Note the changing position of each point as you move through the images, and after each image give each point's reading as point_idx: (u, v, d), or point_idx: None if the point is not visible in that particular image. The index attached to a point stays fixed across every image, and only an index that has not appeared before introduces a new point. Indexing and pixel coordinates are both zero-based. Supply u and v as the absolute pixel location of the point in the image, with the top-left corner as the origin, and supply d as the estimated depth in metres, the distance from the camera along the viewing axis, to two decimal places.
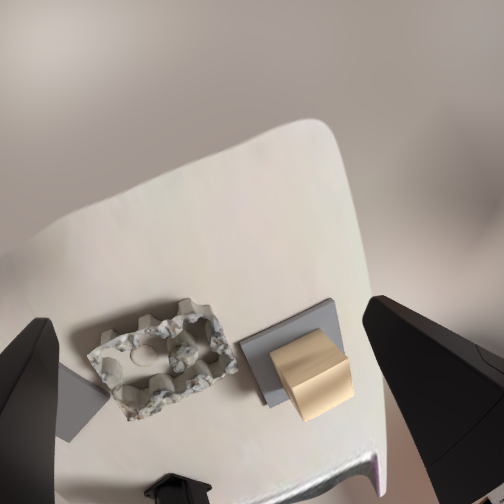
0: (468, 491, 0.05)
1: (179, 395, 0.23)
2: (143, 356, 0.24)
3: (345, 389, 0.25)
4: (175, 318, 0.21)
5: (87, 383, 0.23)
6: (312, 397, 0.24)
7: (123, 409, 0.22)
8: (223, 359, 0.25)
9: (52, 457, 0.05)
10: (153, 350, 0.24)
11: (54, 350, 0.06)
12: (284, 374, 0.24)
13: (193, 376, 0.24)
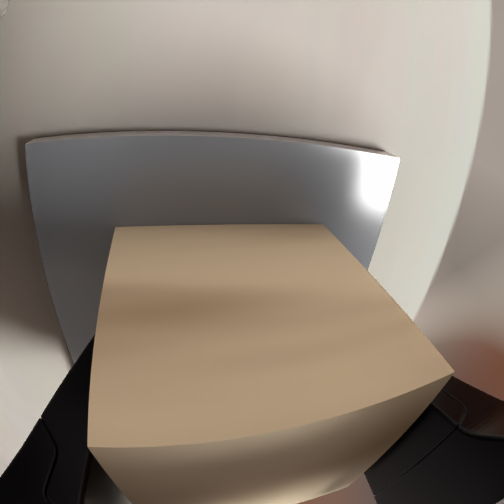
0: None
1: None
2: None
3: (342, 477, 0.05)
4: None
5: None
6: (210, 494, 0.04)
7: None
8: None
9: None
10: None
11: None
12: (102, 333, 0.04)
13: None
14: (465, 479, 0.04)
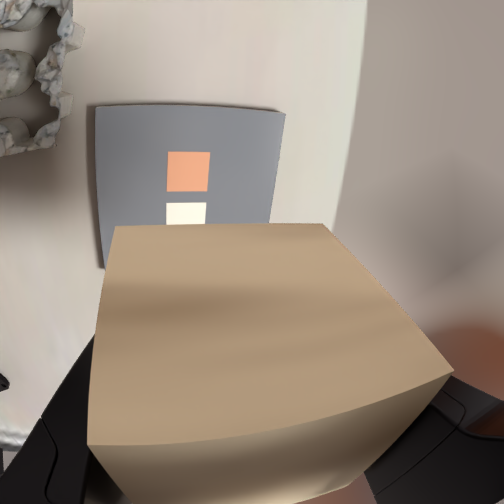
0: None
1: None
2: None
3: (342, 477, 0.05)
4: None
5: None
6: (209, 493, 0.04)
7: None
8: None
9: None
10: None
11: None
12: (102, 332, 0.04)
13: None
14: (465, 479, 0.04)
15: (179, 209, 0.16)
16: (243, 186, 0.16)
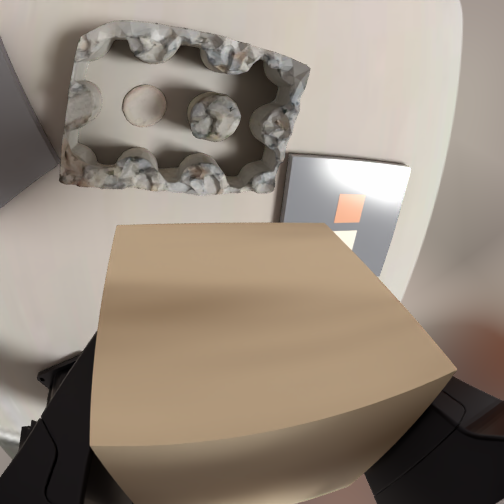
0: None
1: (165, 181, 0.14)
2: (144, 105, 0.14)
3: (345, 476, 0.05)
4: (253, 47, 0.12)
5: (38, 127, 0.13)
6: (212, 493, 0.04)
7: (63, 160, 0.12)
8: (253, 169, 0.16)
9: None
10: (164, 103, 0.14)
11: None
12: (104, 331, 0.04)
13: (205, 163, 0.15)
14: (465, 479, 0.04)
15: (339, 235, 0.21)
16: (380, 218, 0.21)
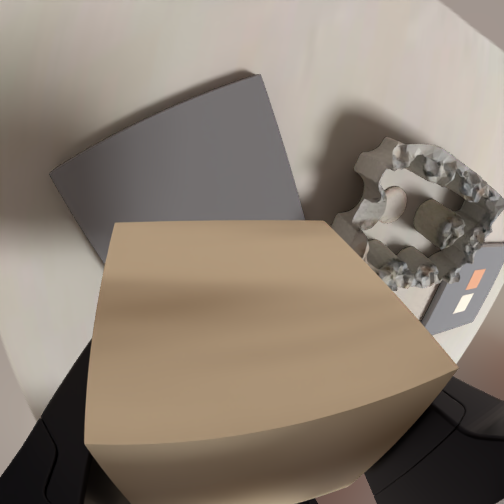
0: None
1: None
2: (393, 205, 0.16)
3: (344, 476, 0.05)
4: None
5: None
6: (210, 493, 0.04)
7: None
8: (444, 263, 0.19)
9: None
10: (405, 205, 0.17)
11: None
12: (100, 329, 0.04)
13: (431, 263, 0.17)
14: (465, 479, 0.04)
15: (463, 297, 0.23)
16: (487, 283, 0.24)
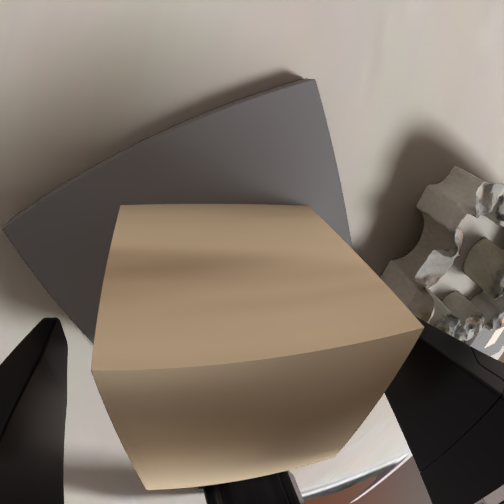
0: (462, 495, 0.05)
1: None
2: None
3: (328, 441, 0.06)
4: None
5: None
6: (199, 442, 0.05)
7: None
8: (486, 307, 0.15)
9: (61, 458, 0.05)
10: (460, 247, 0.13)
11: (63, 350, 0.07)
12: (109, 285, 0.05)
13: (480, 313, 0.13)
14: None
15: (496, 331, 0.20)
16: None
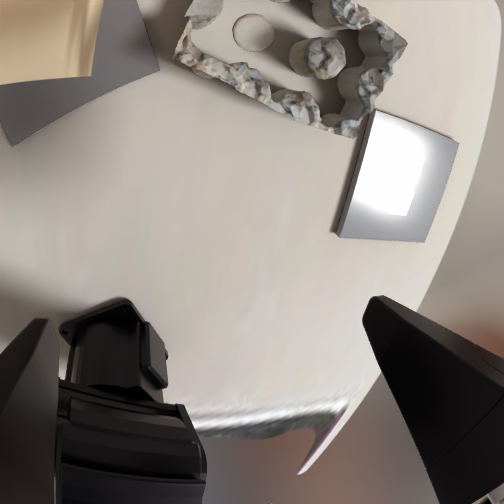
0: (468, 491, 0.05)
1: (271, 96, 0.14)
2: (254, 31, 0.14)
3: (48, 41, 0.07)
4: None
5: None
6: None
7: (180, 43, 0.11)
8: (338, 116, 0.16)
9: (52, 457, 0.05)
10: (272, 36, 0.14)
11: (54, 350, 0.06)
12: None
13: (306, 93, 0.14)
14: None
15: (400, 193, 0.21)
16: (433, 184, 0.21)
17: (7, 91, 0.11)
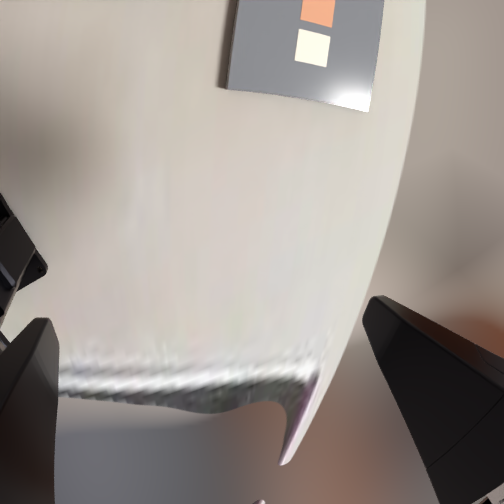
0: (468, 491, 0.05)
1: None
2: None
3: None
4: None
5: None
6: None
7: None
8: None
9: (52, 457, 0.05)
10: None
11: (54, 350, 0.06)
12: None
13: None
14: None
15: (308, 37, 0.15)
16: (358, 32, 0.15)
17: None
